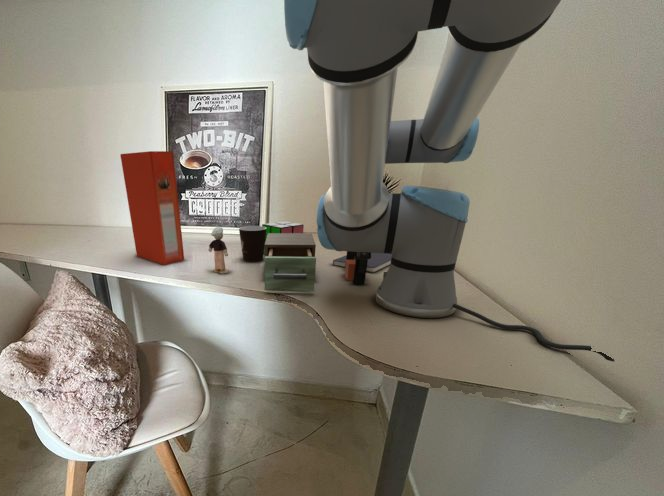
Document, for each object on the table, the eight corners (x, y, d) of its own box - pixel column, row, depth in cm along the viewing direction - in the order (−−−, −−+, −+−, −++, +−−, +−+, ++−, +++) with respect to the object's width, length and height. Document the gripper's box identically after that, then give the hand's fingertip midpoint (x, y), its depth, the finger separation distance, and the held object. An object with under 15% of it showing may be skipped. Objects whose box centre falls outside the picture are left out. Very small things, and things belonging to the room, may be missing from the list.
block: (364, 280, 86) (366, 264, 84) (347, 280, 87) (348, 263, 85) (361, 275, 90) (363, 259, 88) (344, 275, 90) (346, 259, 89)
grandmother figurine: (234, 271, 96) (233, 226, 91) (226, 275, 93) (224, 228, 88) (213, 268, 100) (210, 224, 94) (205, 271, 97) (202, 226, 92)
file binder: (162, 265, 104) (148, 151, 91) (136, 256, 115) (120, 153, 102) (184, 260, 109) (173, 151, 96) (156, 252, 120) (143, 153, 107)
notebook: (365, 252, 114) (332, 265, 100) (366, 247, 113) (333, 260, 99) (403, 258, 106) (373, 273, 92) (404, 253, 105) (374, 267, 91)
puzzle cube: (302, 254, 113) (304, 224, 108) (280, 259, 107) (280, 227, 103) (283, 249, 120) (284, 221, 116) (261, 253, 115) (261, 224, 111)
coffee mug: (264, 263, 103) (264, 230, 99) (237, 262, 105) (236, 230, 101) (269, 254, 113) (269, 224, 109) (244, 254, 115) (243, 224, 111)
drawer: (315, 299, 72) (318, 264, 69) (263, 298, 74) (263, 263, 70) (309, 273, 90) (311, 244, 87) (267, 272, 91) (268, 244, 88)
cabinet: (313, 281, 86) (315, 244, 82) (264, 281, 87) (264, 244, 84) (309, 265, 100) (311, 233, 96) (267, 265, 102) (268, 233, 98)
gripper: (395, 195, 69) (379, 292, 78) (369, 185, 90) (359, 262, 99) (357, 195, 69) (346, 292, 79) (341, 185, 91) (334, 262, 100)
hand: (354, 275), depth 89 cm, fingers open, 12 cm apart
